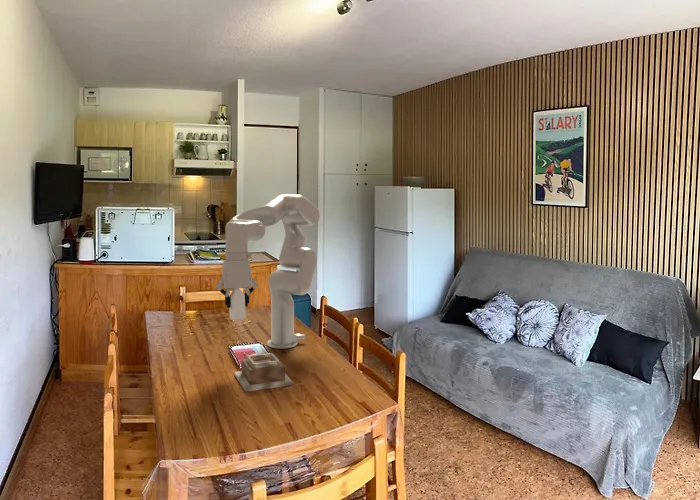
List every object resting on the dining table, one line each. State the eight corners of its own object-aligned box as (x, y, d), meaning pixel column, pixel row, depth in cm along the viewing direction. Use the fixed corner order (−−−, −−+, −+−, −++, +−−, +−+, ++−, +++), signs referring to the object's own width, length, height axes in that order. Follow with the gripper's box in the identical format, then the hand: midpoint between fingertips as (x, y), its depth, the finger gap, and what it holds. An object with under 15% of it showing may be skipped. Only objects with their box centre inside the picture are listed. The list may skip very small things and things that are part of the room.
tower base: (278, 369, 193) (278, 348, 192) (292, 384, 179) (292, 362, 178) (234, 375, 186) (234, 354, 185) (245, 391, 172) (245, 369, 171)
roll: (248, 285, 190) (239, 287, 185) (248, 317, 192) (239, 321, 187) (234, 283, 193) (225, 286, 188) (235, 315, 194) (225, 319, 189)
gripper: (258, 254, 195) (258, 302, 197) (210, 256, 188) (211, 305, 190) (263, 257, 188) (263, 306, 190) (213, 259, 181) (214, 310, 183)
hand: (237, 305), depth 190 cm, fingers closed on roll, 5 cm apart
